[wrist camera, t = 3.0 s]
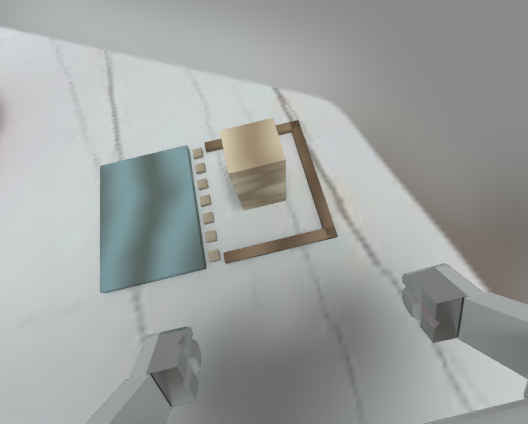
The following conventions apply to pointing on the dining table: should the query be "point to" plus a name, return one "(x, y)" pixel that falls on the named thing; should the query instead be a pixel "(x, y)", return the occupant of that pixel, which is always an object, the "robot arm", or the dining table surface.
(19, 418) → the dining table surface
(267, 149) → the birch stub block
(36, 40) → the dining table surface
